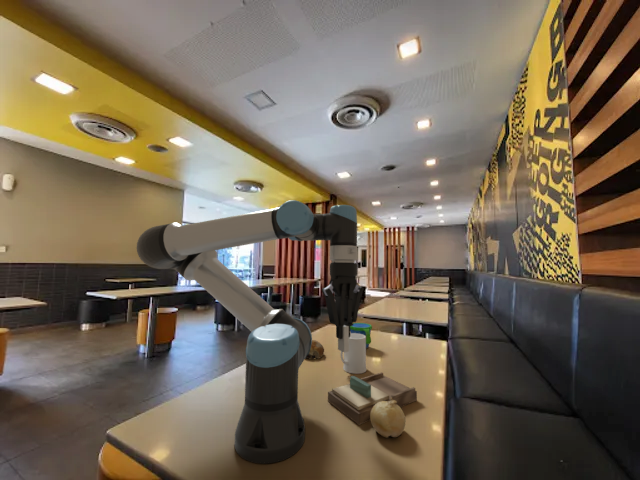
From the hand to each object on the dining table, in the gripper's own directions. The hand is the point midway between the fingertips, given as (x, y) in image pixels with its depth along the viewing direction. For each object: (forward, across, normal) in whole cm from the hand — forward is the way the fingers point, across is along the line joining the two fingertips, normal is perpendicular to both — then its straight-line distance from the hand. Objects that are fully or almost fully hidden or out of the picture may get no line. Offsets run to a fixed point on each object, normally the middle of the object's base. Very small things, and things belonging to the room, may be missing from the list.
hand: (343, 350), depth 71 cm
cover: (+13, +6, 0) cm, 14 cm away
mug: (+16, +20, +20) cm, 32 cm away
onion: (+16, +4, -12) cm, 20 cm away
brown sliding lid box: (+16, +11, 0) cm, 19 cm away
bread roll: (+16, +16, +41) cm, 47 cm away
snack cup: (+16, +41, +39) cm, 59 cm away
